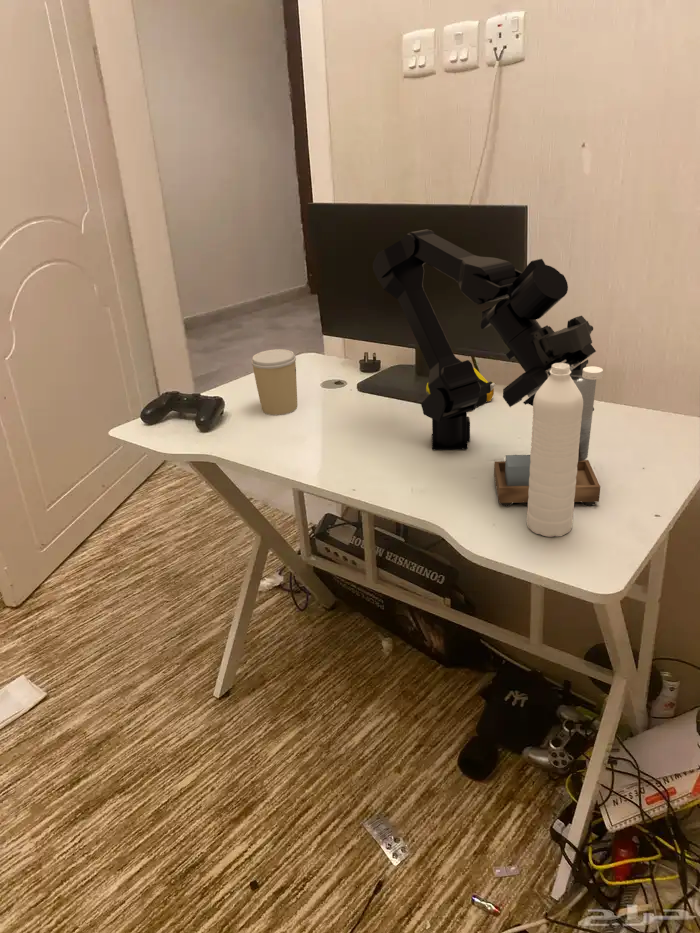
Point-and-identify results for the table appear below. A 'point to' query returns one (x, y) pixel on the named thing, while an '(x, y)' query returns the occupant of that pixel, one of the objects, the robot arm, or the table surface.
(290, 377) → the coffee cup
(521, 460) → the pale grey cube
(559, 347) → the robot arm
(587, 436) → the metal cylinder
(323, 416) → the table surface
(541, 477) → the water bottle
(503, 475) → the walnut tray
